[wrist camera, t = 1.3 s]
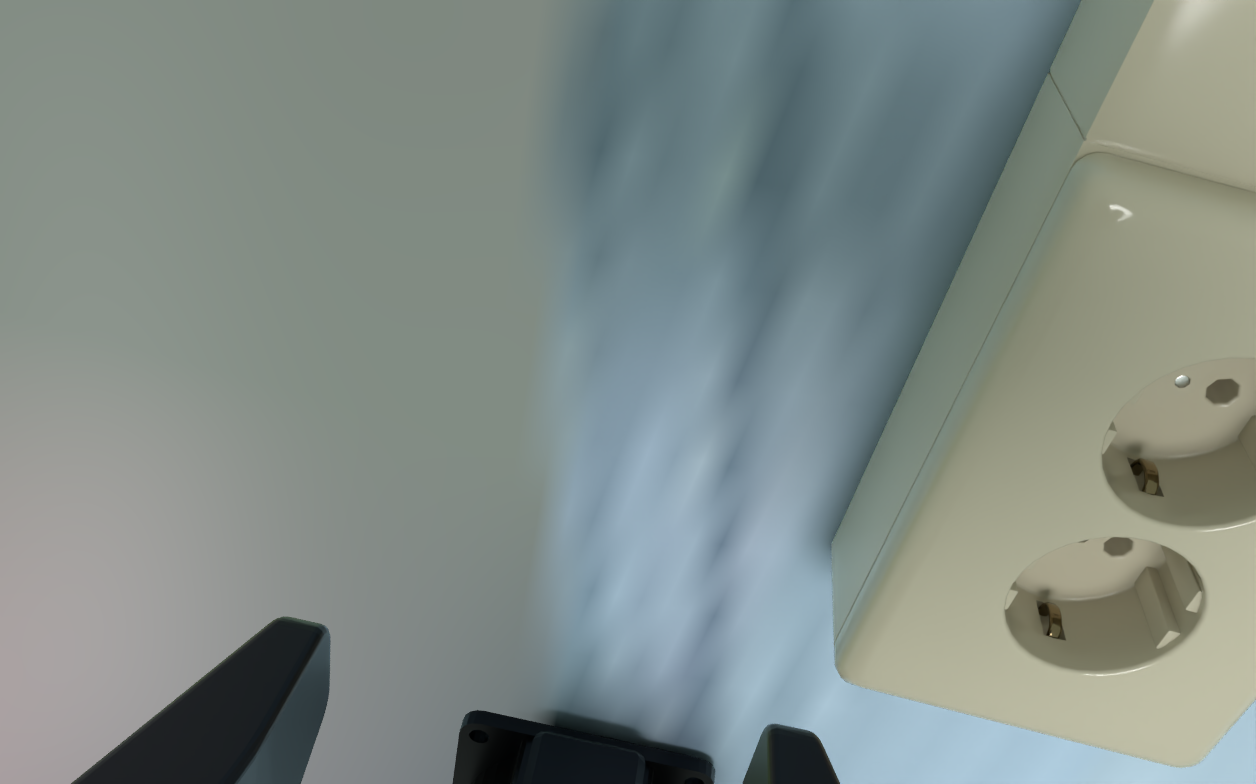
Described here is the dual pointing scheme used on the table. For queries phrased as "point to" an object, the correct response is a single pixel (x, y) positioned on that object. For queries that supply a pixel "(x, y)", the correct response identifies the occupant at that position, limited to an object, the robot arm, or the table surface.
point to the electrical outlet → (1084, 415)
